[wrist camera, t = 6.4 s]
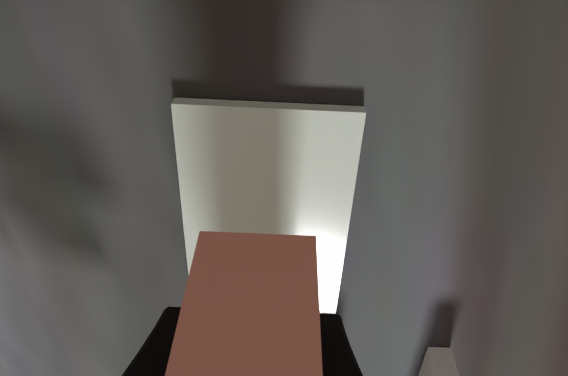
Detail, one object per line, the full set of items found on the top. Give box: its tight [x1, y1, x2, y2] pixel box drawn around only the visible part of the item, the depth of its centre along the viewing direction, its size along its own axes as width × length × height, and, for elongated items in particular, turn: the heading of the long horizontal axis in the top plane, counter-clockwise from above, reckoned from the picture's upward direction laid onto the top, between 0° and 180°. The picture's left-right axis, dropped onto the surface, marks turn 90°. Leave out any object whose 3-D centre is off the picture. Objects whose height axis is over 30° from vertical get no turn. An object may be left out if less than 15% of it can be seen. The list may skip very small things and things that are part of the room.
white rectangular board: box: [171, 98, 366, 314], centre depth 20 cm, size 7×13×1 cm, turn 178°
